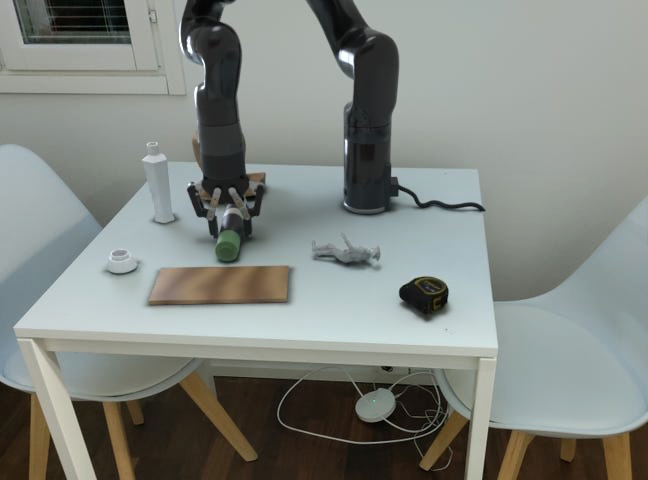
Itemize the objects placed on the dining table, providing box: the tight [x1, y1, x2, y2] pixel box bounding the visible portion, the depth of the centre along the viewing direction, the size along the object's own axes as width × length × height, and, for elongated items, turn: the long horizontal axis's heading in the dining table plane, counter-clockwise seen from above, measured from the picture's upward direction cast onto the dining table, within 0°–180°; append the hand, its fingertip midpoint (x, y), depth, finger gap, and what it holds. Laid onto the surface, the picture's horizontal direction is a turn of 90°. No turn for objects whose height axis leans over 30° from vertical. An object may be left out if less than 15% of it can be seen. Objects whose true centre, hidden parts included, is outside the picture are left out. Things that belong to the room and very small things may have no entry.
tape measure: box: [398, 275, 450, 316], centre depth 111 cm, size 7×7×4 cm
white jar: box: [106, 248, 138, 274], centre depth 121 cm, size 5×3×5 cm
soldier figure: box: [311, 232, 382, 264], centre depth 123 cm, size 8×5×12 cm
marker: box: [214, 203, 244, 262], centre depth 130 cm, size 18×4×4 cm, turn 2°
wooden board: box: [148, 265, 290, 306], centre depth 117 cm, size 22×11×1 cm, turn 92°
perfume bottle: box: [141, 141, 176, 224], centre depth 134 cm, size 5×4×15 cm
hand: (231, 236), depth 130 cm, fingers open, 5 cm apart
